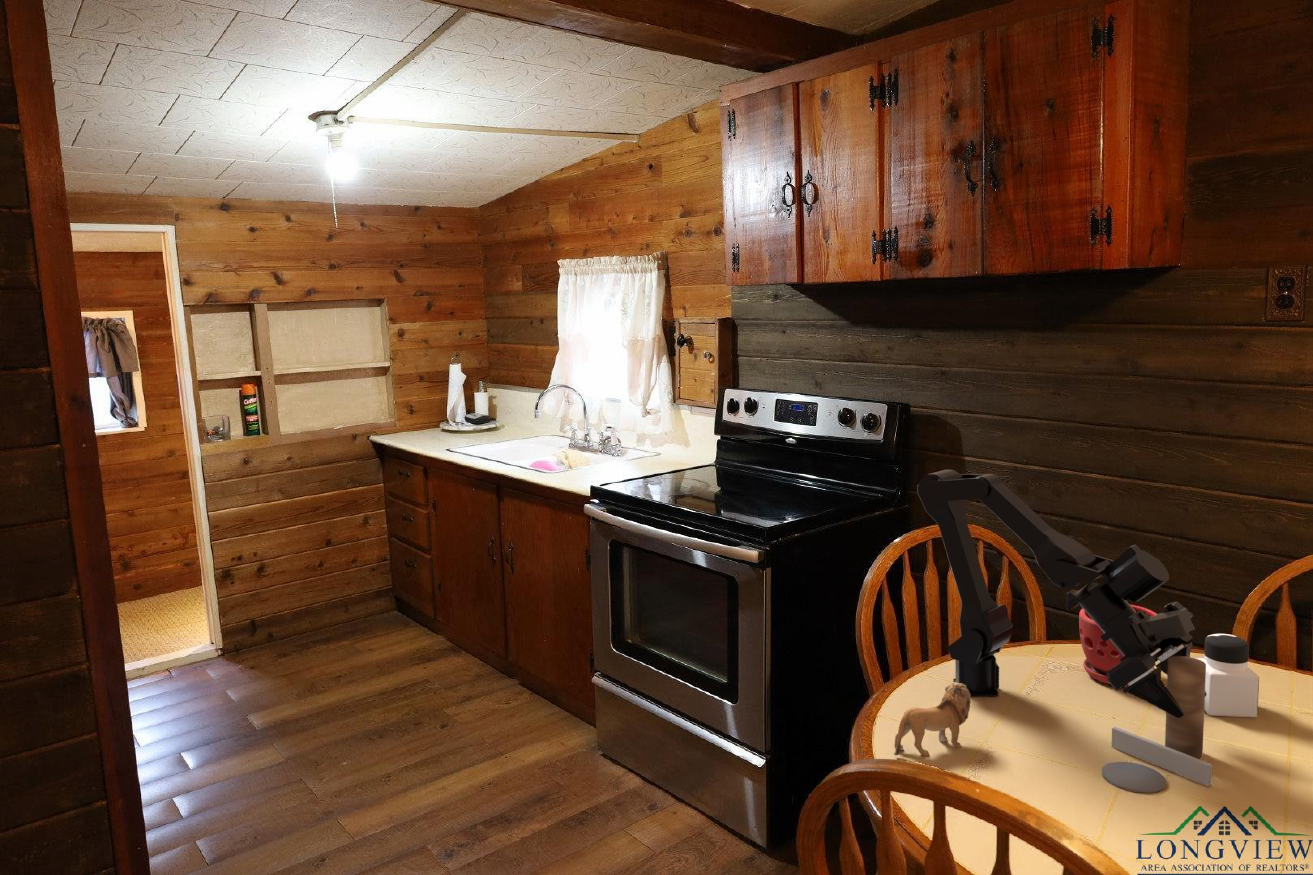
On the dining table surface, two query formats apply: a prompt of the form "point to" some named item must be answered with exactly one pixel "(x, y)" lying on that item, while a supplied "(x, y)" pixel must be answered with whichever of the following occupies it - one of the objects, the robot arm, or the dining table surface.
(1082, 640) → the plant pot
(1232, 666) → the medicine bottle
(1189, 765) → the low wall
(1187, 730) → the pepper mill
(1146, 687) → the robot arm
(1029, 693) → the dining table surface
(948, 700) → the lion figurine
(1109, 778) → the resting pad
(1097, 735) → the dining table surface
